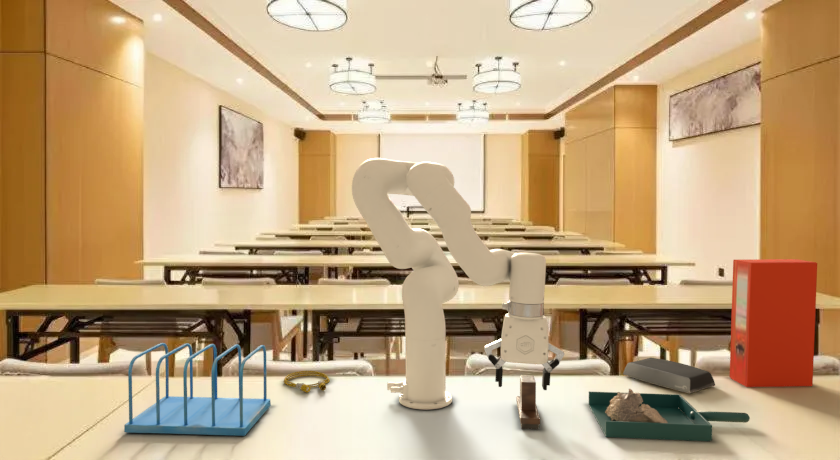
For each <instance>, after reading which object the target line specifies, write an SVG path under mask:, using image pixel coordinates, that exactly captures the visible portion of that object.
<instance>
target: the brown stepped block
mask: <svg viewBox="0 0 840 460" xmlns="http://www.w3.org/2000/svg"><path fill="white" fill-rule="evenodd" d="M515 398H516V408H517V412H518V419H519V423H520V428H521V430H537V431H539V430H540V425H541V417H540V413H539V410H538V405H537V382H536V379H535V376H534V375H522V374H521V375H519V395H516V397H515Z"/></svg>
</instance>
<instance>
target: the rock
mask: <svg viewBox="0 0 840 460" xmlns="http://www.w3.org/2000/svg"><path fill="white" fill-rule="evenodd" d="M616 392H617V391H616ZM617 393H618V394H617V396H614V398H613V399H611V401H610V405H609V406H608V408H607V410H606V411H605V413H607V415H608V417H611V419H612V420H611V421H613V420H616V421H625V422H651V423H668V422H667V421H666V420H665V418H662V417H661V416H660V414H659V413H658V411H657V410H655V409H653V408H650V406H649V405H645V404H642V402H643V400H642V397H641V396H640V393H641V392H634V391H633V389H631V388H628V392H620V391H618V392H617ZM623 393H624V394H623ZM626 393H628V394H626ZM640 404H641V406H639V405H640Z"/></svg>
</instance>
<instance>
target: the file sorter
mask: <svg viewBox="0 0 840 460" xmlns="http://www.w3.org/2000/svg"><path fill="white" fill-rule="evenodd" d="M162 346H163V348H164V353H165V354H163V355H162V356H160V358H159V359H158V361H157V363H156V366H155V402H154V403H153V404H152V405H150V406H149V407H147V408H146V409H145V410H143V411H142V412H140V413H139V414H137V415H136V416H135V417H133V416H134V415H133V412H134V411H133V366H134V363H135V362H136V361H137V359H139V358H141V357H143V356H144V355H147V354H148V353H150V352H152V351H154V350H156V349H158V348H160V347H162ZM185 347H188V352H189V353H188V354H189V357H187V358H186V361H185V362H184V364H183V371H182V372H183V376H182V378H183V380H182V381H183V396H175V395H171V396H169V393H170V392H169V391H170V388H169V387H170V384H169V381H170V380H169V371H170V369H169V357H170V356H171V355H173V354H175V353H177V352H178V351H180V350H182V349H184V348H185ZM210 348H212V350H213V362H212V365H211V373H210V375H211V376H210V377H211V378H210V379H211V382H210V383H211V385H210V386H211V396H210V397H209V396H208V397H207V396H194V373H193V372H194V371H193V370H194V369H193V368H194V367H193V366H194V364H193V363H194V360H193V359H194V358H196V357H197V356H199V355H200V354H202V353H204V352H206V351H207V350H209V349H210ZM236 348H237V355H238V356H237V357H238V358H237V359H238V397H218V361H219V360H221V359H222V358H224V357H225V356H227V355H228V354H229V353H230V352H232V351H233V350H235V349H236ZM261 349H262V351H263V352H262V354H263V355H262V356H263V398H253V397H251V398H249V397H248V398H247V397H246V398H245V397H244V368H245V364H246V362H247V361H248V360H249V359H250V358H252V357H253V356H254V355H256V353H258V352H259V351H260V350H261ZM217 351H218V350H217V347H216V344H214V343H210V344H208V345H206V346H205V347H203V348H201V349H199V350H198V351H197V352H194V353H193V347H192V345H191V344H190V343H188V342H187V343H183V344H181V345H180V346H178V347H176V348H174V349H172V350H171V351H169V347H168V345H167V343H166V342H160V343H158V344H155V345H154V346H151V347H150V348H147V349H146V350H144V351H142V352H139V353H138V354H136V355H134V356H133V357H132V358H131V360H130V363H129V364H128V365H129V366H128V372H127V376H128V379H127V380H128V421H127V422H126V423H124V424H123V425H124V426H123V427H124V429H123V432H124V433H131V434H132V433H133V434H134V433H135V434H170V435H171V434H173V435H175V434H176V435H177V434H178V435H206V436H207V435H208V436H238V437H239V436H240V437H245V436H246V435H247V434H248V433H249V432H250V430H251V429H252V428H254V426H255V425H256V423H257V422H258V421H259V420H260V419H261V418H262V417H263V415H264V414H265V413H266V411H268V409H269V408H270V407H271V406H272V405H271V403H272V402H271V398H267V397H268V396H267V390H268V389H267V387H268V386H267V385H268V384H267V383H268V382H267V381H268V380H267V349H266V345H264V344H261V345H259V346H257V347H256V348H255V349H254V350H252V351H251V352H250V353H249V354H248V355H246V356H245V357H244V358H243V359H242V349H241V346H240V345H239V344H234V345H232V346H231V347H229V348H228V349H226V350H225V351H223V352H222V353H221V354H219V355H218V352H217ZM164 359H165V396H163V397H162V398H161V397H160V387H161V386H160V368H161V364H162V362H163V360H164ZM188 367H189V396H188Z"/></svg>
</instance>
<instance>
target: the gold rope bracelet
mask: <svg viewBox="0 0 840 460" xmlns="http://www.w3.org/2000/svg"><path fill="white" fill-rule="evenodd" d="M307 376H308V377H309V376H311V377H321V378H324V380H318V381H317V382H316V383H312V384H311V383H310V384H306V383H304V382H297V383H294V382H292V381H289V380H292V379H295V378H300V377H307ZM283 383H284V384H285V385H287V386H288V387H290V388H291V387H292V388H297V389H298V390H299V391H300V392H304V393H309V392H311V391H312V388H317V387H318V389H320V390H321V391H326V390H327V384H328V383H330V378H329V376H328V375H327V374H325V373H323V372H320V371H316V370H299V371H295V372H291V373H290V374H288V375H286V376H285V377H284V380H283Z"/></svg>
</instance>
